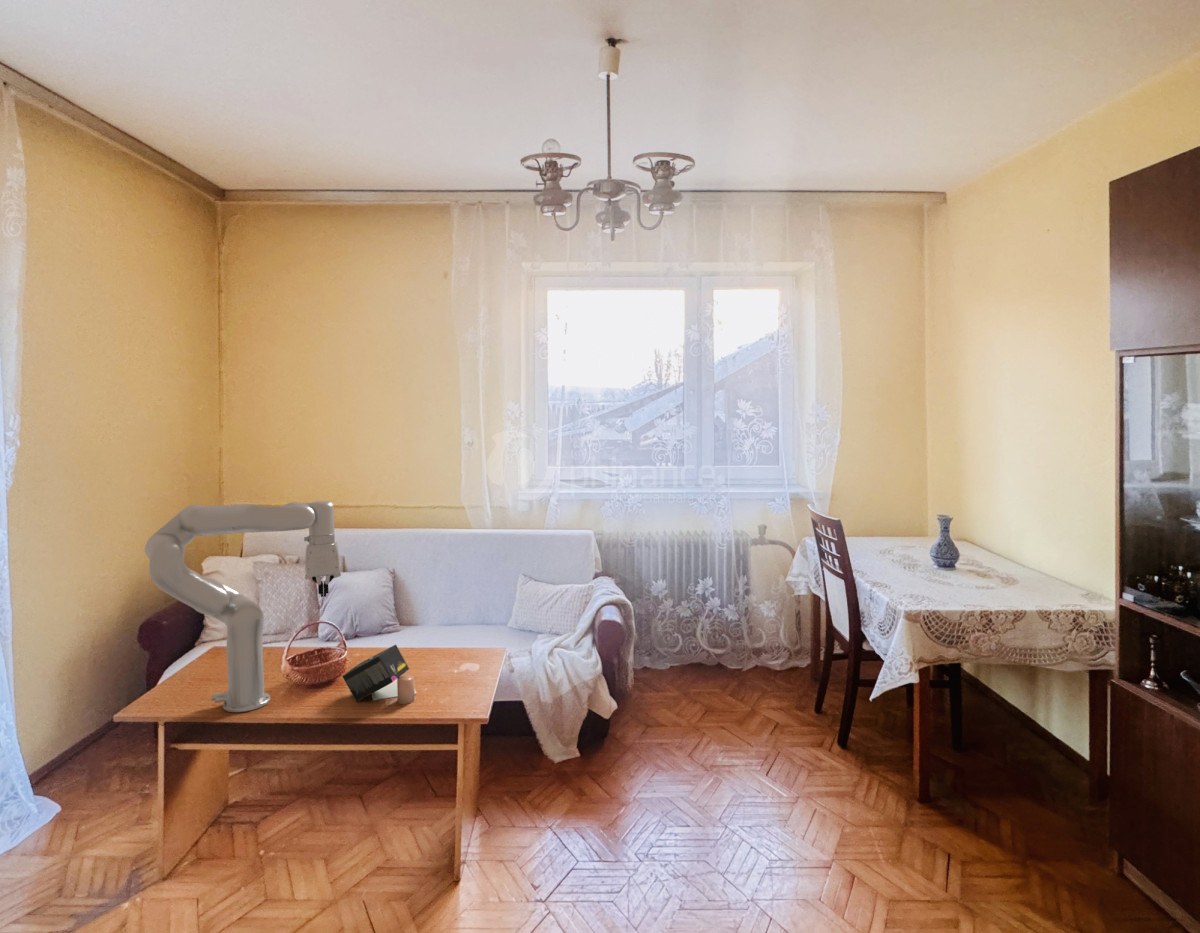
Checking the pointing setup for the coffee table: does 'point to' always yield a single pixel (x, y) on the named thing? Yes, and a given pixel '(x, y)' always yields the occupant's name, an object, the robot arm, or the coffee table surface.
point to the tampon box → (375, 673)
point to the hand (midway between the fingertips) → (323, 595)
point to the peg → (405, 689)
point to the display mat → (387, 691)
